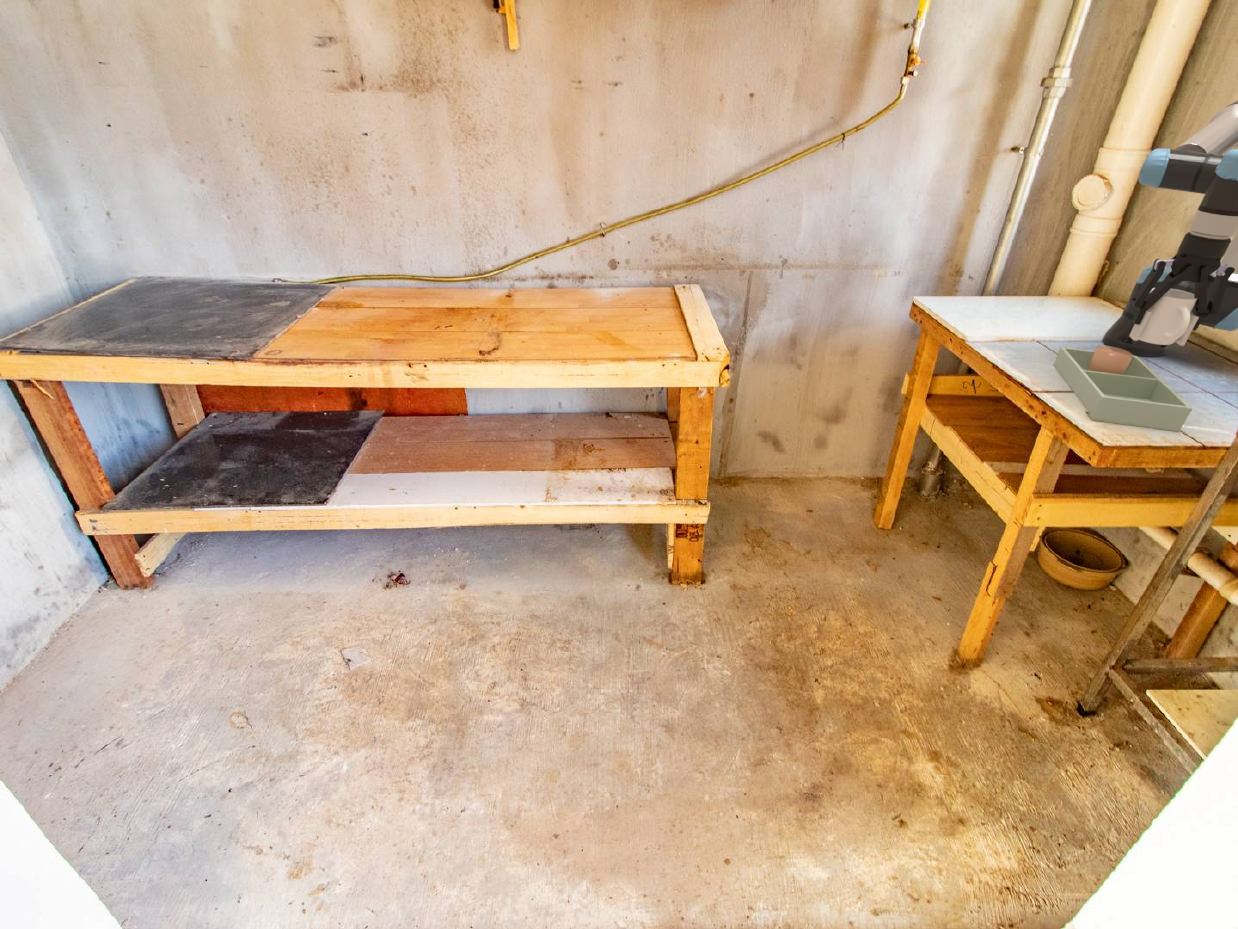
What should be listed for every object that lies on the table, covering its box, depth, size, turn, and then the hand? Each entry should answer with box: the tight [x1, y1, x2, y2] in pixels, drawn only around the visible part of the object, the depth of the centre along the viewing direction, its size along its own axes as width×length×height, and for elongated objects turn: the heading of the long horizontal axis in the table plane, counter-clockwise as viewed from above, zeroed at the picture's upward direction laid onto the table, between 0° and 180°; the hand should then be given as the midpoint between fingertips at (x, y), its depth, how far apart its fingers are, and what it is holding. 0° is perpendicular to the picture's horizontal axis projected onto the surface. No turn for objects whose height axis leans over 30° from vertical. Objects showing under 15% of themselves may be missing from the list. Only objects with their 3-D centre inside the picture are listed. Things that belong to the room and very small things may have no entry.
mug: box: [1138, 288, 1198, 346], centre depth 141 cm, size 12×8×10 cm
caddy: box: [1053, 347, 1193, 432], centre depth 157 cm, size 18×30×6 cm, turn 165°
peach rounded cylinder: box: [1087, 345, 1134, 375], centre depth 162 cm, size 8×8×8 cm
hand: (1156, 340), depth 143 cm, fingers closed on mug, 8 cm apart
